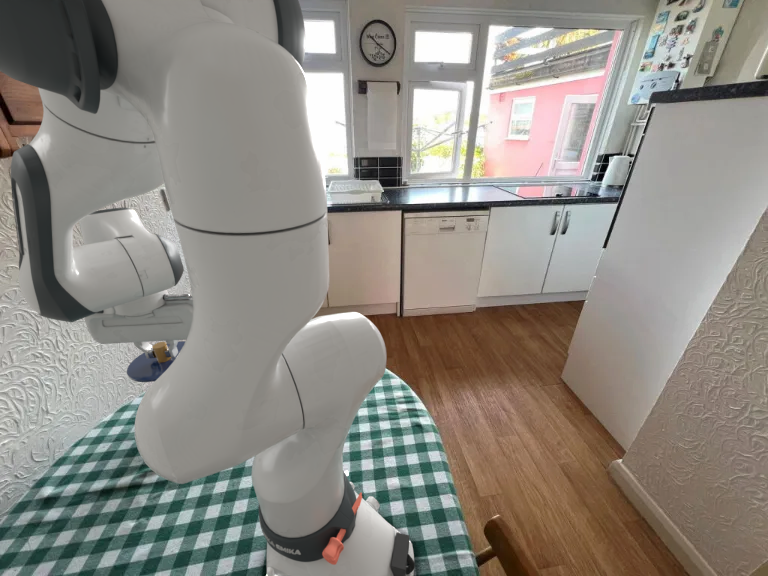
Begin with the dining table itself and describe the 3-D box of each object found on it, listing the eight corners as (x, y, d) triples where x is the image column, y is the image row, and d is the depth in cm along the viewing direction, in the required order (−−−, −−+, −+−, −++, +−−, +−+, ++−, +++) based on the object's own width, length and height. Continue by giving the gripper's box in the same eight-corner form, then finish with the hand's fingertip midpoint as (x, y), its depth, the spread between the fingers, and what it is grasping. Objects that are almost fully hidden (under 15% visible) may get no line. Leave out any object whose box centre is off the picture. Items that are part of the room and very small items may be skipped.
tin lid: (213, 354, 67) (208, 336, 65) (153, 392, 57) (144, 373, 55) (176, 339, 72) (170, 323, 70) (115, 373, 62) (105, 354, 60)
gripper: (204, 286, 62) (221, 344, 67) (95, 291, 60) (122, 349, 66) (189, 301, 56) (208, 362, 62) (68, 306, 55) (100, 369, 60)
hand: (163, 356), depth 64 cm, fingers closed on tin lid, 2 cm apart
